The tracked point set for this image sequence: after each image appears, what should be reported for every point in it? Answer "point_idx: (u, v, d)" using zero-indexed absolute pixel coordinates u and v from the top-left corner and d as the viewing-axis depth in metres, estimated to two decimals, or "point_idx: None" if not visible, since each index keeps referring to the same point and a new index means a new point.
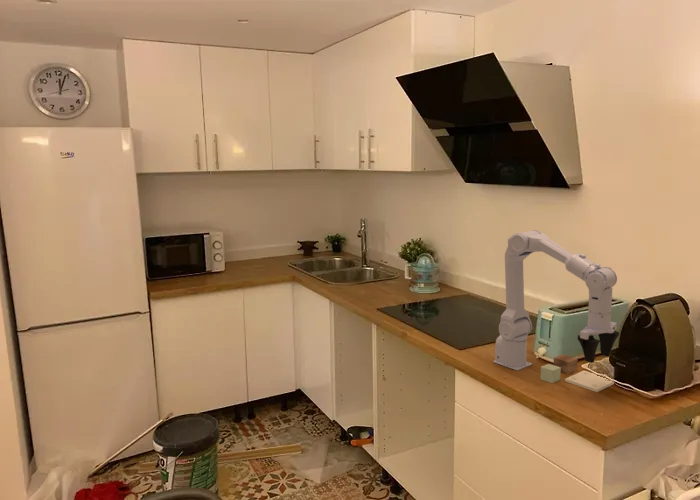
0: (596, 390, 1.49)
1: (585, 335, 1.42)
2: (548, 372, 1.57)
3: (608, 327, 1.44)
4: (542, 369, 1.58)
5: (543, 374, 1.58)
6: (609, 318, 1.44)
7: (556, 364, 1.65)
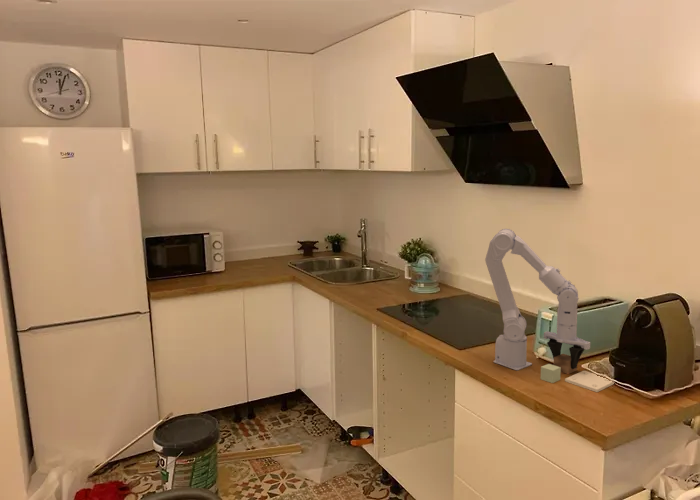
0: (596, 390, 1.49)
1: None
2: (548, 372, 1.57)
3: (560, 337, 1.62)
4: (542, 369, 1.58)
5: (543, 374, 1.58)
6: (561, 329, 1.62)
7: (556, 364, 1.65)
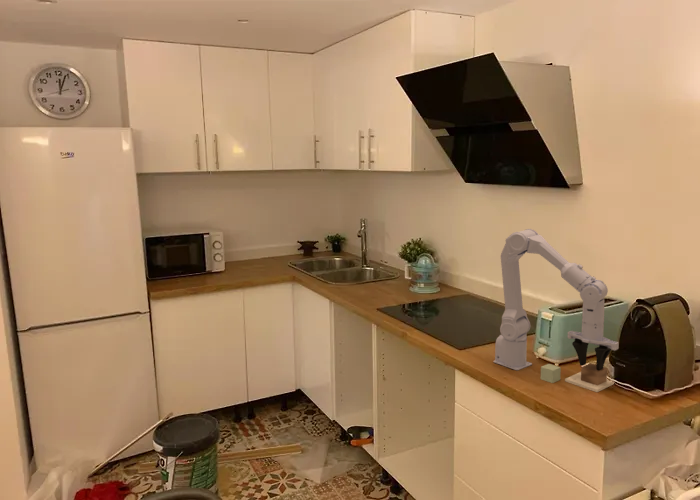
0: (596, 390, 1.49)
1: None
2: (548, 372, 1.57)
3: (586, 337, 1.52)
4: (542, 369, 1.58)
5: (543, 374, 1.58)
6: (586, 328, 1.52)
7: (584, 374, 1.54)
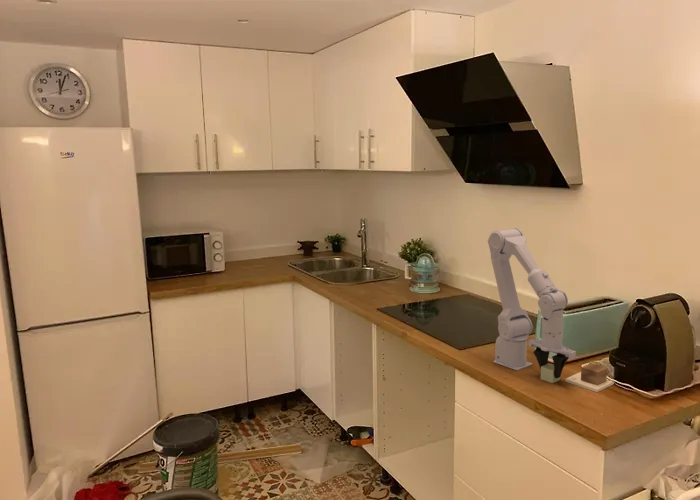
0: (596, 390, 1.49)
1: None
2: (548, 372, 1.57)
3: (545, 345, 1.55)
4: (542, 369, 1.58)
5: (543, 374, 1.58)
6: (545, 337, 1.55)
7: (584, 374, 1.54)
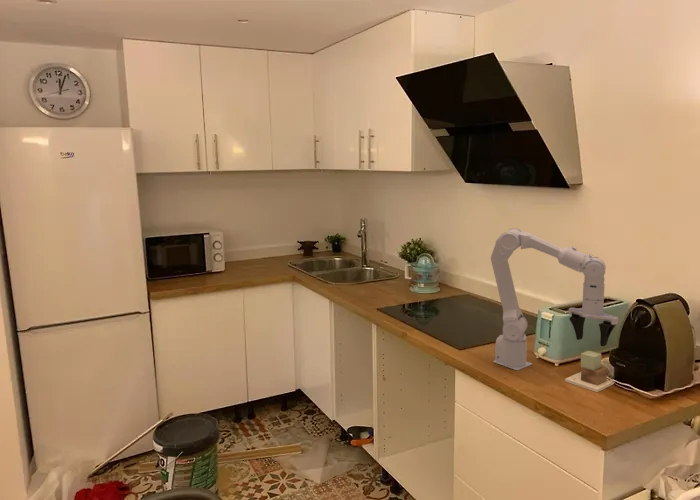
0: (596, 390, 1.49)
1: None
2: (589, 359, 1.53)
3: (586, 312, 1.56)
4: (582, 356, 1.54)
5: (583, 361, 1.54)
6: (587, 304, 1.56)
7: (584, 374, 1.54)
